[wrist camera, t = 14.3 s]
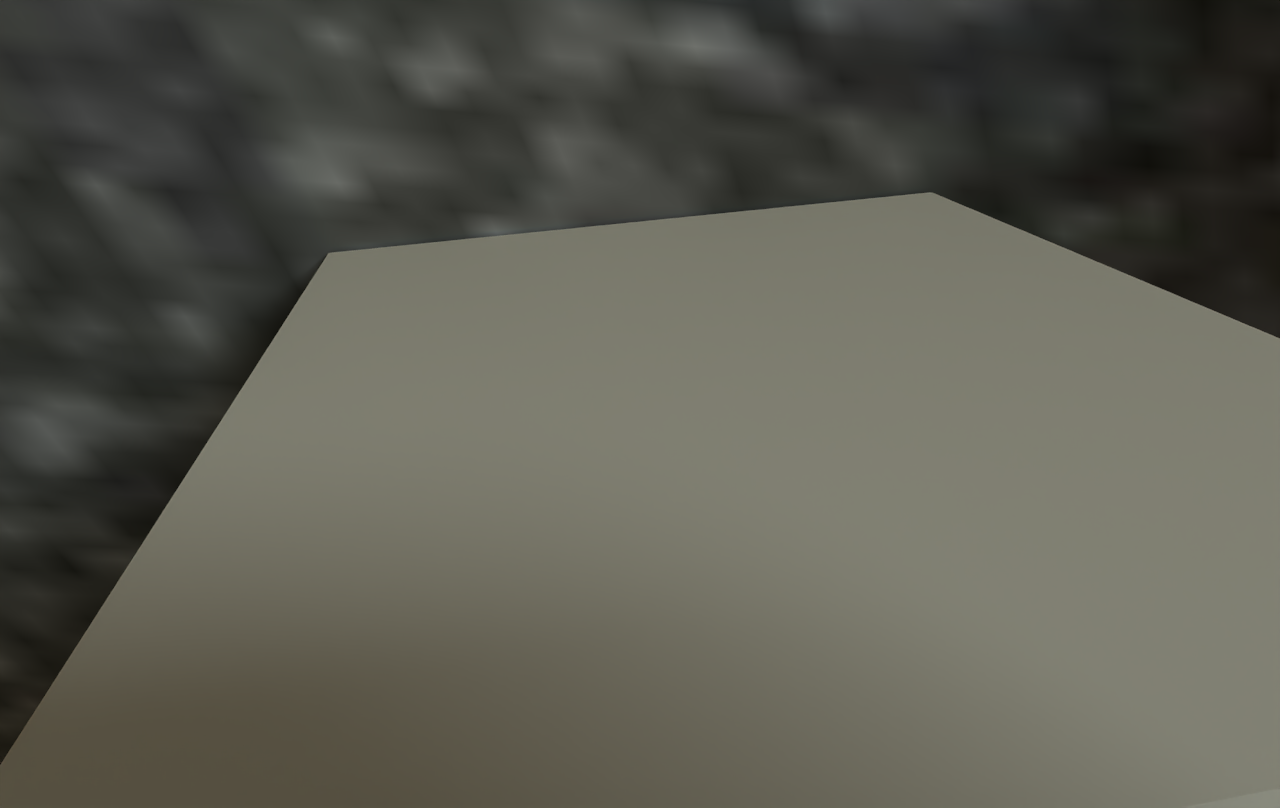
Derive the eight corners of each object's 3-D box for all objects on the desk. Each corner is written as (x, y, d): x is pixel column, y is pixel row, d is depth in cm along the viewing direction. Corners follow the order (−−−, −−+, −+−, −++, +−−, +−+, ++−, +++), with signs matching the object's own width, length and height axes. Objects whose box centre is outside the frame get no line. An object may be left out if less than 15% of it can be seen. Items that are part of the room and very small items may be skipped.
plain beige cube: (891, 646, 14) (1372, 1407, 7) (434, 722, 14) (361, 1713, 6) (931, 192, 11) (2001, 642, 3) (328, 252, 10) (-209, 1085, 2)
